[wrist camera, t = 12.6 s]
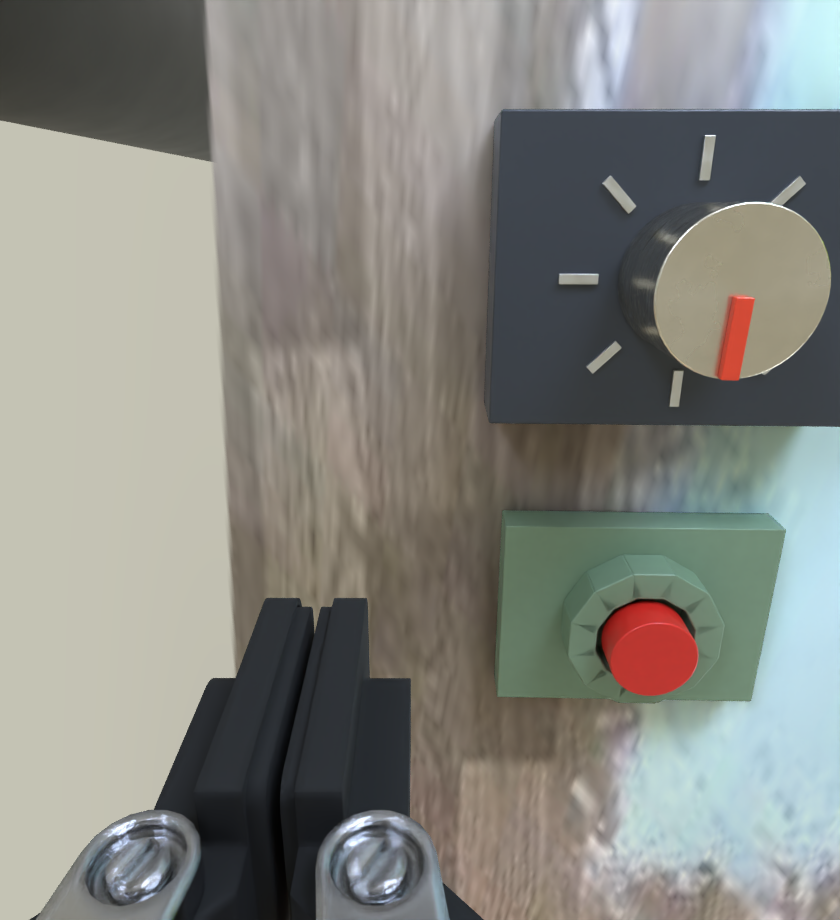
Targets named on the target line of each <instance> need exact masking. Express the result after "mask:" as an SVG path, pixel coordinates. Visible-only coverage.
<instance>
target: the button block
mask: <svg viewBox="0 0 840 920" xmlns="http://www.w3.org/2000/svg"><path fill="white" fill-rule="evenodd" d="M785 533H786V529H785V528H784V527H782V526H781V525H780V524H779V523H778V522H777V521H776V520H775V519H774V518H773V517H772V516H771V515H769V514H755V513H673V512H591V511H509V510H503V511H502V526H501V546H500V567H499V588H498V608H497V629H496V650H495V670H494V676H495V684H496V692H497V697H537V698H594V699H612V700H614V701H615V702H618V703H656V702H660V701H663V700H707V701H751V698H752V693H753V688H754V684H755V679H756V674H757V669H758V664H759V659H760V654H761V650H762V645H763V640H764V635H765V630H766V625H767V620H768V616H769V611H770V606H771V601H772V596H773V591H774V586H775V581H776V577H777V572H778V567H779V562H780V557H781V552H782V547H783V543H784V538H785ZM638 601H655V602H660V603H663V604H665V605H667V606H669V607H671V608H672V609H674V610H675V611H676V612H677V613H678V614H679V615H680V617H681V618H682V620H683V622H684V623H685V625H686V627H687V628H688V630H689V632H690V633H691V635H692V637H693V638H694V640H695V642H696V644H697V647H698V655H699V656H698V663H697V667H696V669H695V671H694V673H693V675H692V676H691V677H690V679H689V680H688V681H687V682H686V683H685V684H683V685H682V686H681V687H679V688H677V689H676V690H674V691H672V692H669V693H666V694H662V695H656V696H644V695H638V694H635V693H632V692H630V691H628V690H626V689H625V688H623V687H622V686H621V685H620V684H619V683H618V682H617V681H616V680H615V678H614V677H613V675H612V672H611V670H610V667H609V664H608V662H607V659H606V656H605V654H604V651H603V648H602V643H601V636H602V631H603V628H604V626H605V624H606V622H607V621H608V619H609V618H610V617H611V616H612V614H614V613H615V612H616V611H617V610H619V609H620V608H622V607H624V606H625V605H628V604H630V603H634V602H638Z"/></svg>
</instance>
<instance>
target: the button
mask: <svg viewBox="0 0 840 920" xmlns="http://www.w3.org/2000/svg"><path fill="white" fill-rule="evenodd" d="M601 643H602V648H603V651H604V654H605V656H606V659H607V662H608V664H609V667H610V670H611V672H612V675H613V677H614V678H615V680H616V681H617V682H618V683H619V684H620V685H621V686H622V687H623V688H625V689H626V690H628V691H630V692H632V693H635V694H638V695H644V696H656V695H662V694H666V693H669V692H672V691H674V690H676V689H677V688H679V687H681V686H682V685H683V684H685V683H686V682H687V681H688V680H689V679H690V677H691V676H692V675H693V673H694V671H695V669H696V667H697V663H698V656H699V655H698V647H697V644H696V642H695V640H694V638H693V637H692V635H691V633H690V632H689V630H688V628H687V627H686V625H685V623H684V622H683V620H682V618H681V617H680V615H679V614H678V613H677V612H676V611H675V610H674V609H672V608H671V607H669V606H667V605H665V604H663V603H660V602H655V601H638V602H634V603H630V604H628V605H625V606H624V607H622V608H620V609H619V610H617V611H616V612H615V613H614V614H612V616H611V617H610V618H609V619H608V621H607V622H606V624H605V626H604V628H603V631H602V636H601Z"/></svg>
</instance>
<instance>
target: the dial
mask: <svg viewBox="0 0 840 920" xmlns="http://www.w3.org/2000/svg"><path fill="white" fill-rule="evenodd" d="M617 287H618V298H619V303H620V307H621V310H622V313H623V315H624V317H625V319H626V321H627V323H628V324H629V326H630V327H631V328H632V330H633V331H634V332H635V333H636V334H637V335H638V336H639V337H641V338H642V339H643V340H644V341H646V342H647V343H649V344H650V345H652V346H653V347H655V348H657V349H658V350H660V351H661V352H663V353H664V354H666V355H667V356H669V357H670V358H672V359H674V360H675V361H677V362H678V363H680V364H681V365H683V366H684V367H686V368H688V369H690V370H691V371H693V372H695V373H698V374H700V375H703V376H706V377H711V378H715V379H720V380H732V381H738V380H739V379H741V378H747V377H751V376H755V375H758V374H761V373H763V372H766V371H768V370H770V369H772V368H774V367H776V366H778V365H780V364H781V363H783V362H784V361H785V360H787V359H788V358H790V357H791V356H792V355H793V354H794V353H796V352H797V351H798V350H799V349H800V348H801V347H802V346H803V345H804V344H805V342H806V341H807V340H808V339H809V338H810V336H811V335H812V333H813V332H814V331H815V329H816V327H817V326H818V324H819V322H820V320H821V318H822V316H823V314H824V311H825V309H826V305H827V302H828V299H829V294H830V288H831V268H830V261H829V257H828V253H827V250H826V248H825V245H824V243H823V241H822V239H821V237H820V236H819V234H818V232H817V231H816V230H815V229H814V227H813V226H812V225H811V224H810V223H809V222H808V221H807V220H806V219H805V218H803V217H802V216H801V215H799V214H798V213H796V212H794V211H793V210H791V209H789V208H786V207H784V206H781V205H777V204H774V203H768V202H759V201H757V202H697V203H688V204H683V205H680V206H677V207H673V208H671V209H669V210H667V211H665V212H663V213H661V214H660V215H658V216H656V217H655V218H654V219H652V220H651V221H650V222H648V223H647V224H646V225H645V226H644V227H643V228H642V229H641V230H640V231H639V232H638V234H637V235H636V236H635V237H634V239H633V240H632V242H631V243H630V245H629V247H628V248H627V250H626V253H625V255H624V257H623V260H622V263H621V266H620V270H619V275H618V286H617Z"/></svg>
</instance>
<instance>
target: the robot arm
mask: <svg viewBox="0 0 840 920" xmlns="http://www.w3.org/2000/svg"><path fill="white" fill-rule="evenodd" d="M410 754H411V679H410V678H370V671H369V634H368V603H367V598H335V599H334V601H333V605H332V607H321V609H320V613H319V618H318V622H317V626H316V631H315V634H314V617H313V609H312V607H302V605H301V600H300V599H299V598H267V599H265V601H264V604H263V606H262V609H261V612H260V614H259V617H258V620H257V622H256V625H255V628H254V630H253V633H252V636H251V638H250V641H249V644H248V647H247V649H246V652H245V655H244V657H243V660H242V663H241V665H240V668H239V671H238V673H237V676H236V678H213V679H211V680H210V681H209V683H208V685H207V686H206V688H205V690H204V693H203V695H202V698H201V700H200V702H199V705H198V707H197V709H196V712H195V714H194V717H193V719H192V721H191V723H190V726H189V728H188V730H187V733H186V735H185V737H184V740H183V742H182V745H181V747H180V749H179V752H178V754H177V756H176V759H175V761H174V763H173V766H172V768H171V770H170V773H169V775H168V778H167V780H166V782H165V785H164V787H163V789H162V792H161V794H160V796H159V799H158V801H157V803H156V806H155V808H154V810H147V811H143V812H139V813H136V814H131V815H129V816H127V817H124V818H122V819H120V820H118V821H116V822H114V823H112V824H111V825H109V826H108V827H107V828H105V829H104V830H103V831H101V832H100V833H99V834H97V835H96V836H95V837H94V838H93V839H92V840H91V841H90V843H89V844H88V845H87V846H86V847H85V848H84V850H83V851H82V852H81V853H80V855H79V857H78V858H77V859H76V861H75V862H74V864H73V865H72V867H71V868H70V870H69V871H68V873H67V874H66V876H65V877H64V879H63V880H62V881H61V883H60V885H59V886H58V887H57V889H56V890H55V892H54V893H53V895H52V896H51V898H50V899H49V901H48V902H47V904H46V905H45V907H44V908H43V910H42V911H41V913H39V914H38V915H36V916H35V917H33V918H31V919H30V920H483V919H482V918H481V917H480V916H479V915H478V914H477V913H476V912H475V911H474V910H472V909H471V908H470V907H469V906H468V905H467V904H466V903H465V902H464V901H462V900H461V899H460V898H459V897H458V896H457V895H456V894H455V893H454V892H453V891H451V890H450V889H449V888H448V887H447V886H446V885H445V884H444V883H443V882H442V879H441V873H440V868H439V863H438V858H437V853H436V850H435V847H434V845H433V842H432V840H431V837H430V836H429V834H428V833H427V832H426V831H425V830H424V828H423V827H422V826H421V825H420V824H419V823H418V822H416V821H414V820H413V819H411V818H410Z"/></svg>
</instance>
